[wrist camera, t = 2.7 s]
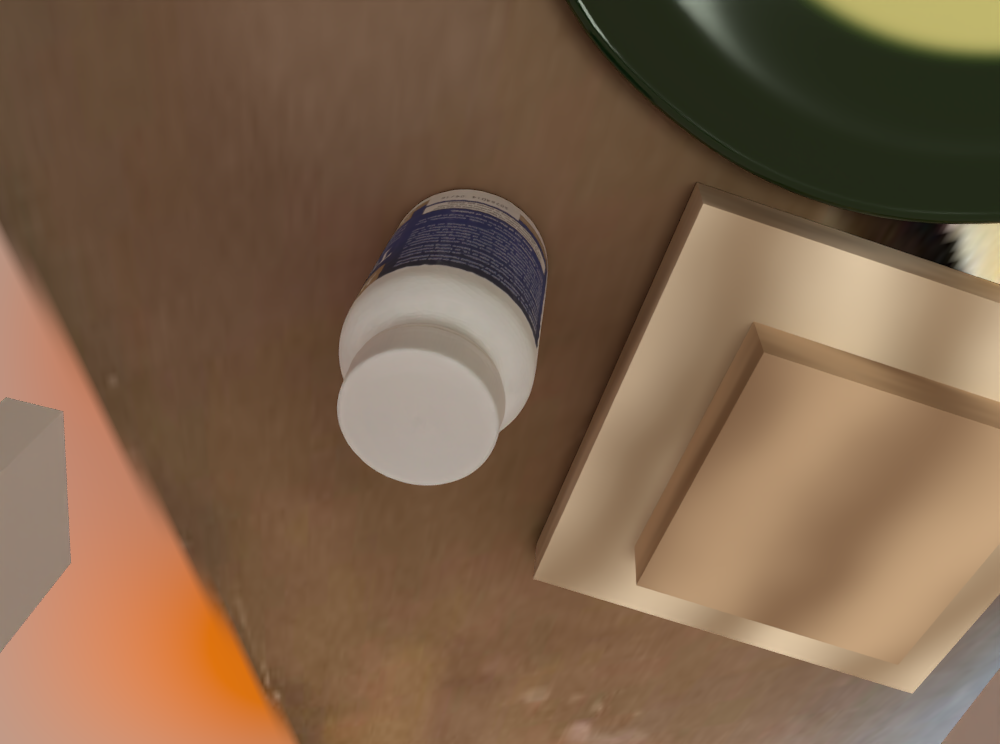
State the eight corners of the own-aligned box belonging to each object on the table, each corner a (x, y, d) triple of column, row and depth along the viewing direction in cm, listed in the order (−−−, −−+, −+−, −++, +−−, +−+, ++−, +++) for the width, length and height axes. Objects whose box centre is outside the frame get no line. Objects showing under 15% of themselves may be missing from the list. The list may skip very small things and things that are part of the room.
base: (536, 543, 35) (529, 617, 31) (696, 182, 27) (710, 228, 23) (897, 654, 36) (928, 736, 32) (1158, 338, 28) (1238, 404, 24)
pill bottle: (389, 179, 28) (296, 313, 19) (554, 189, 27) (532, 330, 19) (394, 327, 30) (315, 500, 22) (545, 338, 30) (522, 518, 22)
